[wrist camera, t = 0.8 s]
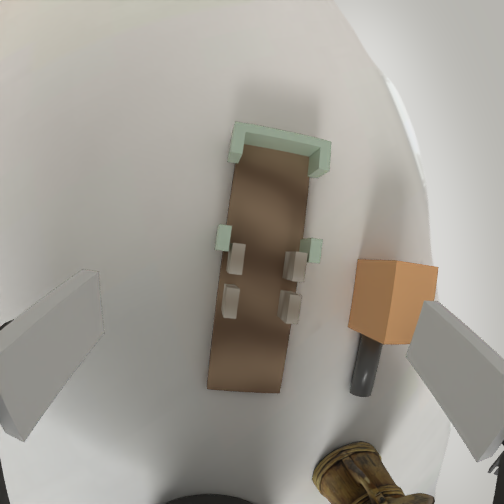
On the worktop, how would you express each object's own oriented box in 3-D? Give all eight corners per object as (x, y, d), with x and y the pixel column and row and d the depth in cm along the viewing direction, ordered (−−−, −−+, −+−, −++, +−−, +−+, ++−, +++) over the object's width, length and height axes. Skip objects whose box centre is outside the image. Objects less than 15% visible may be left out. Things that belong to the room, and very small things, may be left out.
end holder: (308, 262, 29) (319, 263, 26) (214, 249, 27) (215, 249, 24) (319, 151, 29) (331, 141, 26) (231, 134, 28) (235, 121, 25)
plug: (374, 387, 31) (408, 412, 24) (335, 389, 30) (365, 418, 23) (396, 264, 31) (438, 267, 24) (357, 259, 30) (396, 260, 24)
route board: (277, 389, 29) (287, 407, 25) (207, 384, 28) (208, 404, 24) (308, 150, 30) (324, 136, 26) (239, 137, 29) (245, 120, 24)
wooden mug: (365, 402, 31) (467, 486, 13) (380, 471, 32) (452, 547, 14) (294, 436, 30) (362, 553, 12) (321, 501, 30) (376, 593, 12)
